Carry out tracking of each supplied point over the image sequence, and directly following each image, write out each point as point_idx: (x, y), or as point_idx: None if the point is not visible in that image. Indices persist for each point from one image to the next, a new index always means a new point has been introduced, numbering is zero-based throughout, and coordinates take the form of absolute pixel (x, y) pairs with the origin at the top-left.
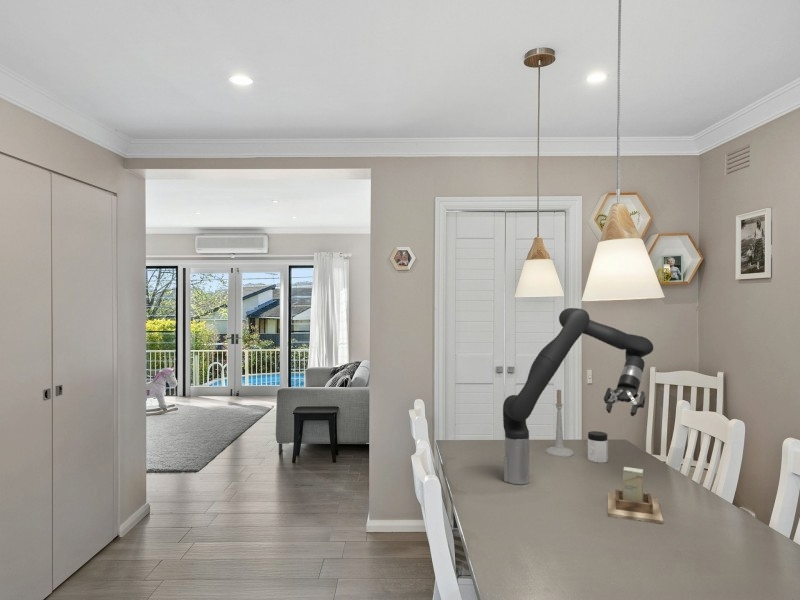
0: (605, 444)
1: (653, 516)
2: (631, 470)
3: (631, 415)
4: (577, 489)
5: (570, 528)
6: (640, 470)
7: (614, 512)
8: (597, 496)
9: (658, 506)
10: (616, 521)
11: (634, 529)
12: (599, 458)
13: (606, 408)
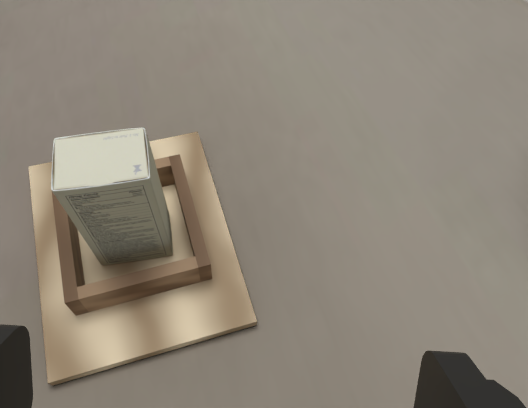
0: None
1: None
2: (106, 140)
3: (26, 380)
4: (387, 321)
5: (257, 29)
6: (65, 166)
7: (181, 146)
8: (288, 290)
9: (42, 289)
10: (167, 119)
11: (111, 97)
12: None
13: (498, 389)
